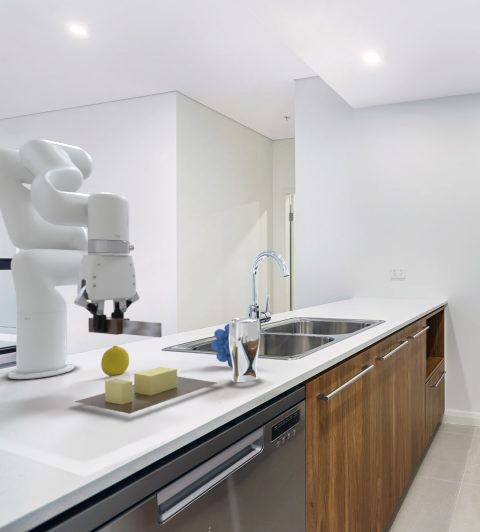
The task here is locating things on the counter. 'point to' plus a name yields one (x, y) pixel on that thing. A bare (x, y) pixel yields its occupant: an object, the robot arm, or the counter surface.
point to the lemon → (115, 361)
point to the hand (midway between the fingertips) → (108, 330)
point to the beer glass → (244, 348)
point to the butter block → (155, 380)
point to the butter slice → (118, 391)
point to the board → (148, 396)
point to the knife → (129, 327)
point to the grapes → (222, 345)
